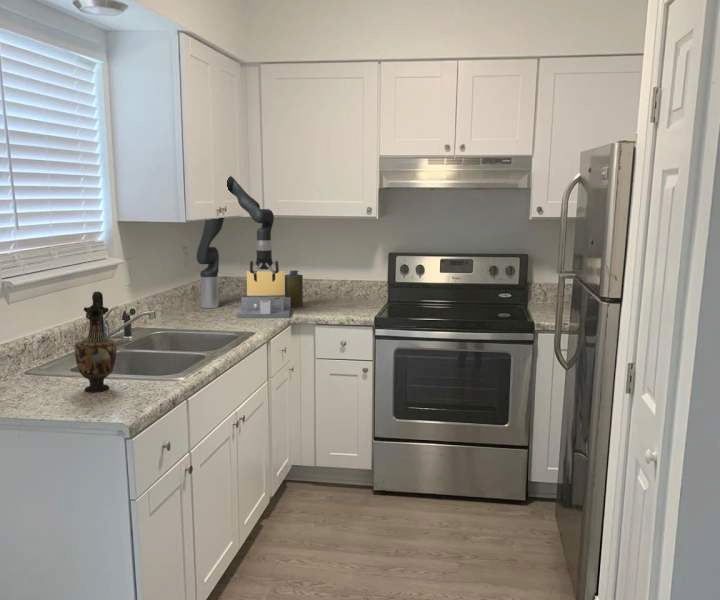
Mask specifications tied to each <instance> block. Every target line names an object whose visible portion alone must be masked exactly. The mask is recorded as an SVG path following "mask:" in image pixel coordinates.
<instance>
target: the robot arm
mask: <svg viewBox="0 0 720 600" xmlns="http://www.w3.org/2000/svg"><path fill="white" fill-rule="evenodd" d="M227 187H228V190H229V191H230V192H231V193H232V195H233V196H235V197H236V198H237V201H238V204H239V205H240V207H241V208H242V209H243V210H244V211H245V212H247V213H248V215H249V216H250V218H251V219H252V221H254V222H255V223H257V224H261V227H260V228H258V229H257V230H256V246H255V247H256V248H255V249H256V251H255V252H256V260H251V261H250V263H249V271H250V273H253V274H254V280H255V282H257V274H256V273H257V271H259V270H260V271H261V270H270V271H271V272H272V273H273V274H272V282H274V280H275V274H276V273H278V272H279V271H280V269H279V268H280V267H279V260H275V261H273V258H272V256H273V253H272V252H273V251H272V250H273V248H272V228H273V225H274V224H273V223H274V219H275V216H274V212H273V211H272V210H271V209H270V208H269V209H268V208H261V206H260V203H259V202H258V201H257V200H255V199H254V198H253V197H252V196H251V195H249V194H248V193H247V192H246V190H244V188H243V187H242V186H241V184H239V183H238V181H237V180H236V178H234V177H233V176H232V175H230V177H229V178H228V180H227ZM231 193H230V194H231ZM204 220H205V219H204ZM224 221H225V217H224V218H219V219H211V220H205V221H204V225H203V226H204V227H203V231H202V235H201V238H200V241H199V244H198V247H197V250H196V262H197V263H198V264H199V265H207V267H205V269H202V270H201V271H200V295H201V296H200V303H201V308H203V309H216V308H219V279H218V278H219V277H218V274H219V266H220V265H219V263H220V261H219V260H220V258H219V256H220V255H219V251H218V249H217V248H216V247H214V246H210V245H211V243H212V241H213V240H214V239H215V238H216V236H217V235H219V233H220V232H221V230H222V229H223V224H224ZM255 265H256V266H257V268H256V269H255V270H254V266H255ZM272 265H274V266H275V270H274V268H273V267H272Z"/></svg>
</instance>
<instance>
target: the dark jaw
mask: <svg viewBox="0 0 720 600" xmlns="http://www.w3.org/2000/svg"><path fill="white" fill-rule="evenodd" d="M271 303H272V311H276V310H281V298H272V299H271Z"/></svg>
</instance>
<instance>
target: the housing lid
mask: <svg viewBox="0 0 720 600" xmlns="http://www.w3.org/2000/svg"><path fill="white" fill-rule="evenodd" d="M256 274H257V282H255V280H254V274H253V273H250V270H247V271H246V297H285V275H286V271H285V270H283V271H281V270H279V272H278V273H276V274H275V280H274V282H272V274H273V273H272V272H271V271H270V270H269V269H267V270H265V269H263V270H261V269H260V271H259V270H258V271H257V273H256Z"/></svg>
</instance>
